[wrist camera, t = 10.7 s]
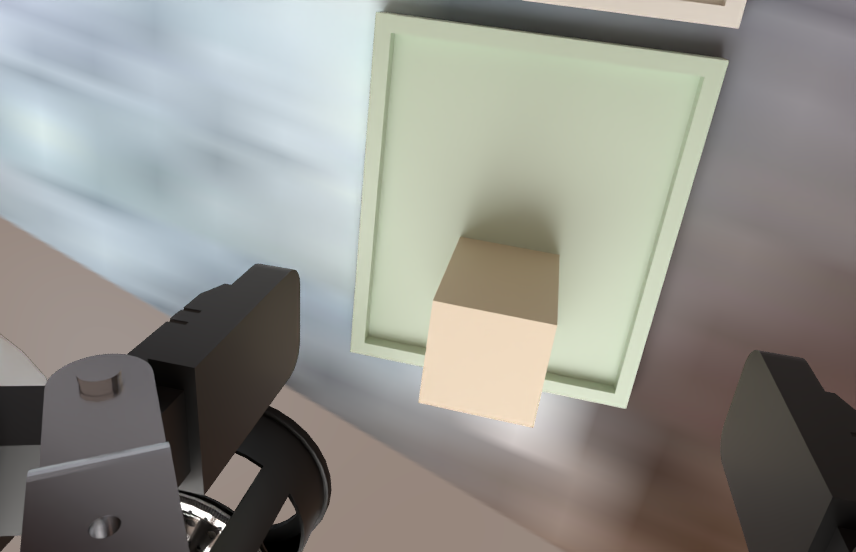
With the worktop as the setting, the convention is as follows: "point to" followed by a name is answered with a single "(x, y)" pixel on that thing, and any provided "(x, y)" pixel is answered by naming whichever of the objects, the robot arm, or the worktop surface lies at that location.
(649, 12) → the bin
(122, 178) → the worktop surface
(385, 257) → the bin
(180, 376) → the robot arm
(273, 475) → the french press
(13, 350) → the honey pot
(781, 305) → the worktop surface
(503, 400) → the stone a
